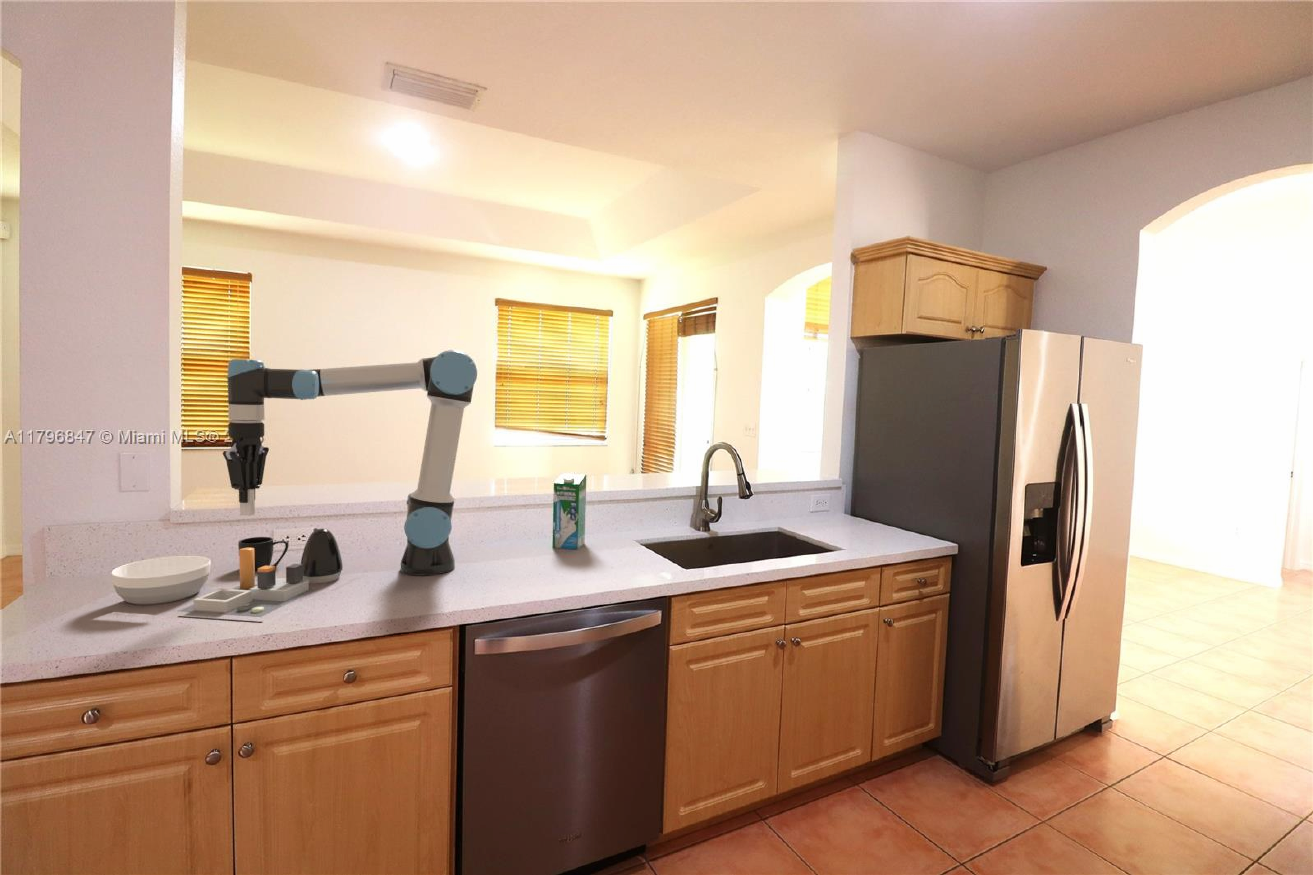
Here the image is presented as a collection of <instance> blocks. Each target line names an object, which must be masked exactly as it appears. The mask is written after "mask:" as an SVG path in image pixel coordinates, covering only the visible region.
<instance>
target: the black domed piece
mask: <svg viewBox="0 0 1313 875" xmlns="http://www.w3.org/2000/svg"><path fill="white" fill-rule="evenodd" d="M338 544H339V543H338V541H337V539H336V537H335V535H334V534H333V533H332V532H331V531H330V530H329V529H327V528H314V529H313V531H312V532H311V534H310V535H309V537H307V540H306V543H305V545H304V549H303V551H302V555H301V559H300V564H303V580H309V584H325V583H330V582H334V581H337V580H338V579H339V578H340V576H341V573H342V571H343V568H344V567H343V558H342V554H341V550H340V548H339V545H338Z"/></svg>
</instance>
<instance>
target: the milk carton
mask: <svg viewBox="0 0 1313 875" xmlns="http://www.w3.org/2000/svg"><path fill="white" fill-rule="evenodd" d="M552 500H553V502H552V503H553V506H552V549H553V548H554V549H556V548H557V549H563V550H564V549H566V550H567V549H568V550H579V548H581V547H582V546H583V545H584V544H585V542H586V541H585V540H586V539H585V538H586V537H585V536H586V510H587V508H586V506H587V504H586V502H587V501H586V500H587V474H585V473H584V474H581V473H564V472H563V473H561V474H560V476H559V477H557V479H556V480H555V481H554V482H553V499H552Z"/></svg>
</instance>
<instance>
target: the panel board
mask: <svg viewBox="0 0 1313 875" xmlns="http://www.w3.org/2000/svg"><path fill="white" fill-rule="evenodd" d="M275 578H276V585H274V586H272V587H270V588H268V589H261V588H258V584H255V587H253V588H251V589H247V590H242V589H240V585H238V586H235V587H233V588H220V589H217V590H215V591H214V590H213V591H212V592H210V593H207V594H205V595H202V596H200V597H197V598H194V599H193V604H191V605H190V606H186V607H184V608H182V609H179V610H178V612H182V613H185V612H186V613H199V614H212V615H213V614H214V615H215V614H216V615H229V616H242V617H254V618H255V617H259V618H261V617H263V616H266V615H267V614H270V613H272V612H273V611H275V610H277V609H279V608H281V607H284V606H286V605H287V604H289V603H291V602H293V601H295V600H297V599H300V598H302V597H303V596H305V595H308V594H309V593H312V592H313V591H315V590H316V588H311V587H310V583H309V580H302V581H299V582H297V583H286V577H284V578H282V577H275ZM177 618H179V619H180V618H182V619H197V620H209V621H211V620H212V621H224V622H226V621H227V622H236V623H237V622H239V623H240V622H241V623H250V624H251V623H253V624H263V621H256V620H242V619H241V620H240V619H229V618H212V617H201V616H186V615H178V616H177Z"/></svg>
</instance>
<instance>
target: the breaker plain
mask: <svg viewBox="0 0 1313 875" xmlns="http://www.w3.org/2000/svg"><path fill="white" fill-rule="evenodd" d="M285 578H286V583H297V582H299V581H302V580H303V564H301V563H292V564H290V565H288V566H286V567H285Z"/></svg>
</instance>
